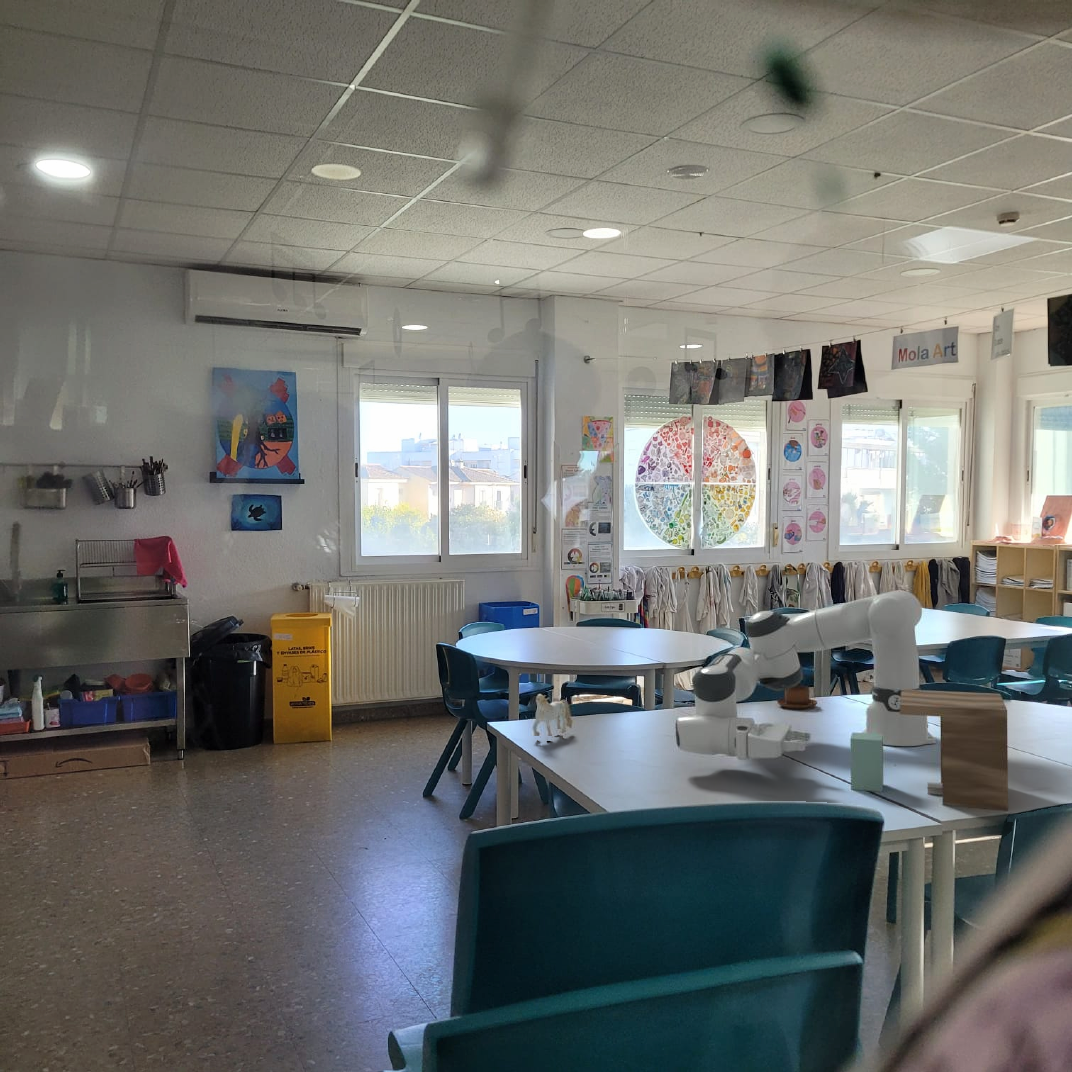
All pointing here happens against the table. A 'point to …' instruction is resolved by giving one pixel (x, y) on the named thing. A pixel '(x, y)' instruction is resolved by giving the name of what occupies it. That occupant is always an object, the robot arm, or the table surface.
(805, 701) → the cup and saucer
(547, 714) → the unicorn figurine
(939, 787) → the cubby
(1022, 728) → the table surface
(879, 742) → the upright mint green block
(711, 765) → the table surface
